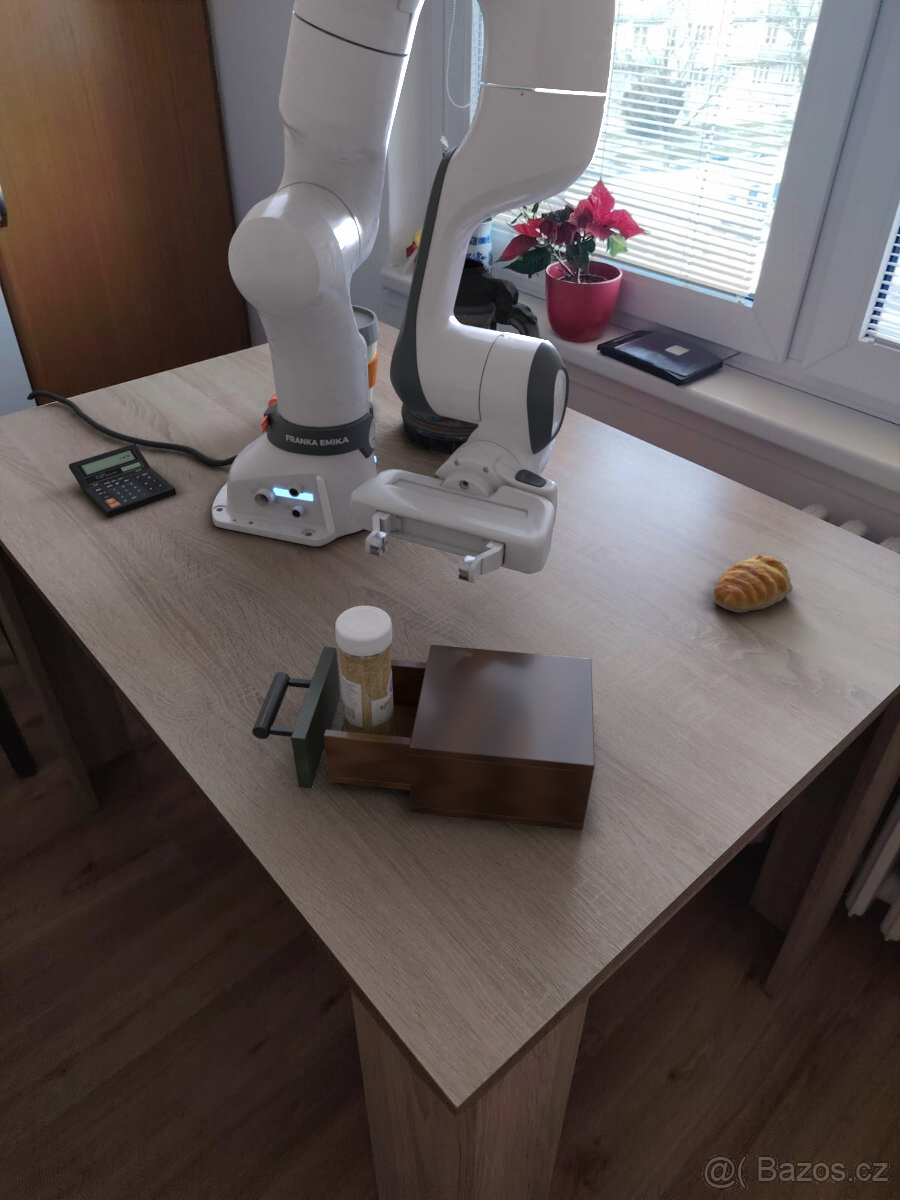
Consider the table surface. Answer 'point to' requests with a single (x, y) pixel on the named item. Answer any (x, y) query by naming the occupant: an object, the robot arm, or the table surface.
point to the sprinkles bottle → (366, 669)
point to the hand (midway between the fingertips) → (418, 561)
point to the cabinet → (503, 737)
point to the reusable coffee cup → (368, 340)
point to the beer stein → (484, 308)
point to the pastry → (753, 584)
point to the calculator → (120, 480)
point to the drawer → (345, 751)
